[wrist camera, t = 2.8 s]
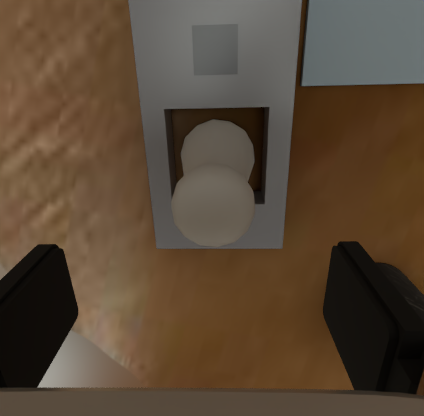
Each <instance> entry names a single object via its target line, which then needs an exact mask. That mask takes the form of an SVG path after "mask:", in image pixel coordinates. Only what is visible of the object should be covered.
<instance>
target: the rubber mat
mask: <svg viewBox="0 0 424 416" xmlns="http://www.w3.org/2000/svg"><path fill="white" fill-rule="evenodd" d="M409 83H424V0H307V10H306V22H305V34H304V46H303V58H302V69H301V81H300V86H327V85H368V84H409Z"/></svg>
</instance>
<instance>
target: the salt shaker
mask: <svg viewBox="0 0 424 416" xmlns="http://www.w3.org/2000/svg"><path fill="white" fill-rule="evenodd" d="M181 160H182V166H183V173H184V176H183V177H182V178H181V179H180V180H179V181H178V183H177V184H176V187H175V191H174V194H173V197H172V201H171V207H172V213H173V219H174V224H175V225H176V226H177V227H178V229H179V230H180V231H181V233H182V234H183V235H184V236H185V237H186V238H188V239H190V240H191V241H193V242H195V243H197V244H198V245H202V246H212V247H220V246H223V245H227V244H230V243H234V242H235V241H236V240H238V239H239V238H240V237H241V236H242V235H244V234H245V233H246V232H247V231H248V228H249V226H250V224H251V222H252V220H253V218H254V215H255V202H254V193H253V190H252V188H251V187H250V185H249V183H248V180H249V177H250V174H251V171H252V168H253V165H254V162H255V160H254V148H253V144H252V142H251V140H250V139H249V137H248V135H247V133H246V131H245V130H243V129H242V128H240V127H238V126H237V125H235V124H233V123H232V122H230V121H223V120H215V119H212V120H210V121H207V122H205V123H202V124H199V125H197V126H196V127H195V128H194V129H193V130H192V131H191V132H190V133H189V134H188V135H187V136H186V137H185V140H184V143H183V147H182V150H181Z"/></svg>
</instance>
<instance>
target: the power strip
mask: <svg viewBox="0 0 424 416" xmlns="http://www.w3.org/2000/svg"><path fill="white" fill-rule="evenodd" d="M128 1H129V10H130V19H131V28H132V36H133V45H134V54H135V63H136V72H137V80H138V89H139V98H140V107H141V115H142V124H143V133H144V142H145V151H146V159H147V168H148V177H149V186H150V194H151V203H152V212H153V221H154V229H155V238H156V247H157V249H282V247H283V234H284V221H285V209H286V196H287V183H288V171H289V158H290V145H291V133H292V120H293V107H294V95H295V82H296V69H297V57H298V44H299V31H300V19H301V6H302V0H128ZM243 107H264V131H263V154H262V178H261V191H253V193H254V202H255V215H254V218H253V220H252V222H251V224H250V226H249V228H248V231H247V232H246V233H245V234H244V235H242V236H241V237H240V238H239V239H238V240H236V241H235V242H234V243H230V244H227V245H223V246H220V247H212V246H202V245H198V244H197V243H195V242H193V241H191V240H190V239H188V238H186V237H185V236H184V235H183V234H182V233H181V231H180V230H179V229H178V227H177V226H176V225H175V224H174V219H173V213H172V207H171V201H172V197H173V194H174V191H175V187H176V184H177V183H176V169H175V156H174V143H173V130H172V117H171V109H196V108H243Z"/></svg>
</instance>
